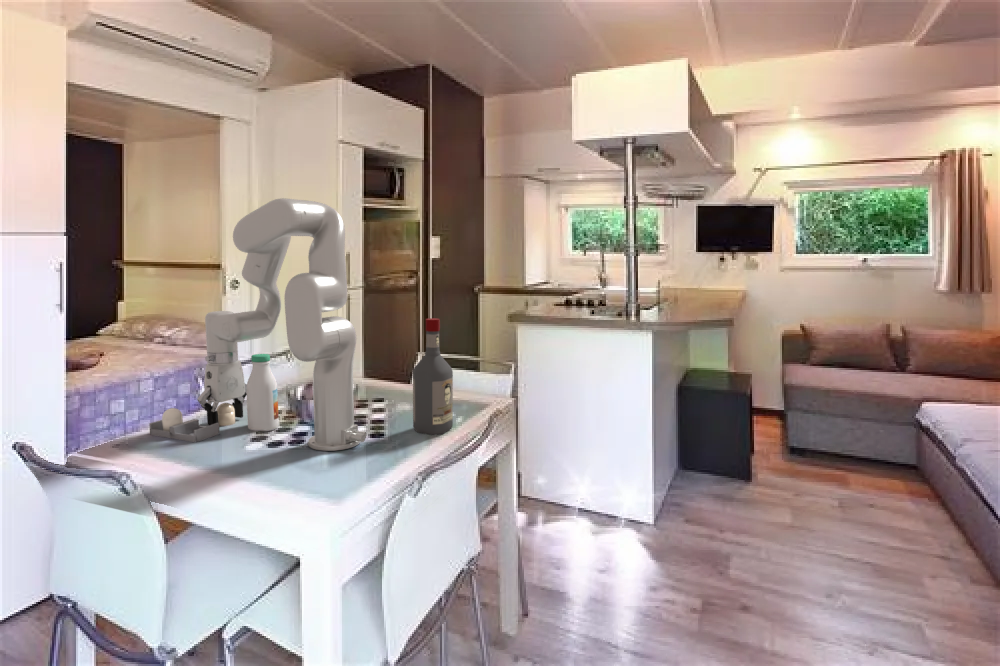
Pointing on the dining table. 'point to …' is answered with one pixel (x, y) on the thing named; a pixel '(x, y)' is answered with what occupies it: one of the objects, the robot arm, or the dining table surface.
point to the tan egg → (226, 414)
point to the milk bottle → (262, 395)
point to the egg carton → (185, 430)
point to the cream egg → (171, 418)
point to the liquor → (432, 387)
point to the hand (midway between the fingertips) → (225, 420)
